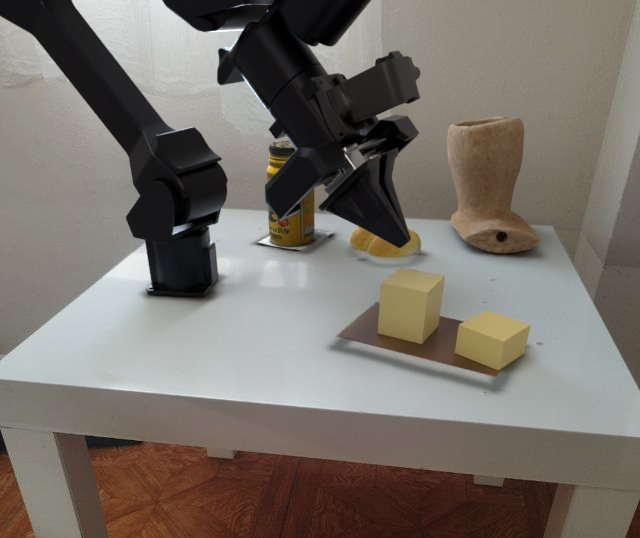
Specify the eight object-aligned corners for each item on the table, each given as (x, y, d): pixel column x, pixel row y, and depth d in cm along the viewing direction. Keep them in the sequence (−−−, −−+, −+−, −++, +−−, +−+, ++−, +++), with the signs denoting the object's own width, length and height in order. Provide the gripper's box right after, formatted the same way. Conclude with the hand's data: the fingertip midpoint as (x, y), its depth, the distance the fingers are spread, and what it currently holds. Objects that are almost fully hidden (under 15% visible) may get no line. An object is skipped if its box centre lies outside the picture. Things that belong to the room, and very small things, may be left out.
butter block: (377, 333, 57) (380, 282, 54) (395, 316, 60) (400, 266, 57) (421, 344, 55) (427, 292, 52) (438, 326, 58) (445, 275, 55)
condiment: (256, 243, 81) (251, 145, 74) (287, 226, 87) (286, 134, 80) (304, 252, 78) (304, 151, 71) (334, 234, 84) (336, 139, 78)
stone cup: (431, 221, 90) (444, 106, 81) (513, 222, 90) (535, 108, 81) (445, 256, 77) (462, 126, 69) (540, 258, 77) (569, 128, 69)
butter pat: (504, 341, 50) (498, 371, 51) (531, 324, 52) (524, 353, 54) (458, 324, 52) (454, 353, 54) (486, 309, 55) (481, 337, 56)
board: (335, 347, 57) (335, 335, 56) (375, 312, 64) (376, 301, 63) (494, 389, 51) (496, 376, 51) (520, 345, 58) (523, 334, 57)
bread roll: (389, 271, 73) (392, 238, 71) (339, 251, 79) (340, 220, 76) (435, 256, 78) (438, 224, 75) (384, 238, 83) (386, 208, 81)
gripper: (297, 12, 39) (439, 214, 41) (408, 9, 53) (511, 162, 55) (209, 133, 47) (333, 299, 49) (325, 104, 60) (418, 235, 62)
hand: (405, 244), depth 53 cm, fingers closed
